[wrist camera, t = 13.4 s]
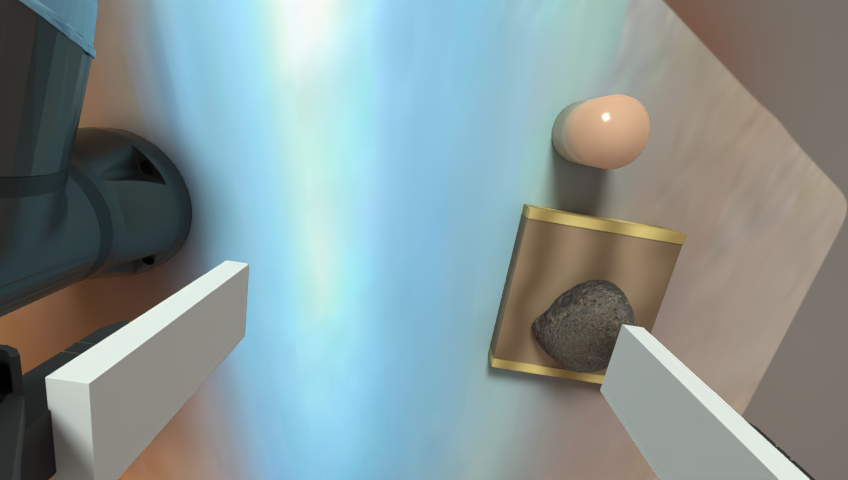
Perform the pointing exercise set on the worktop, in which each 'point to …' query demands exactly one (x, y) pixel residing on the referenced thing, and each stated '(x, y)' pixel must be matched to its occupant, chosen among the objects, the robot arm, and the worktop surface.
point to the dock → (576, 278)
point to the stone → (584, 325)
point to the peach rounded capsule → (602, 131)
